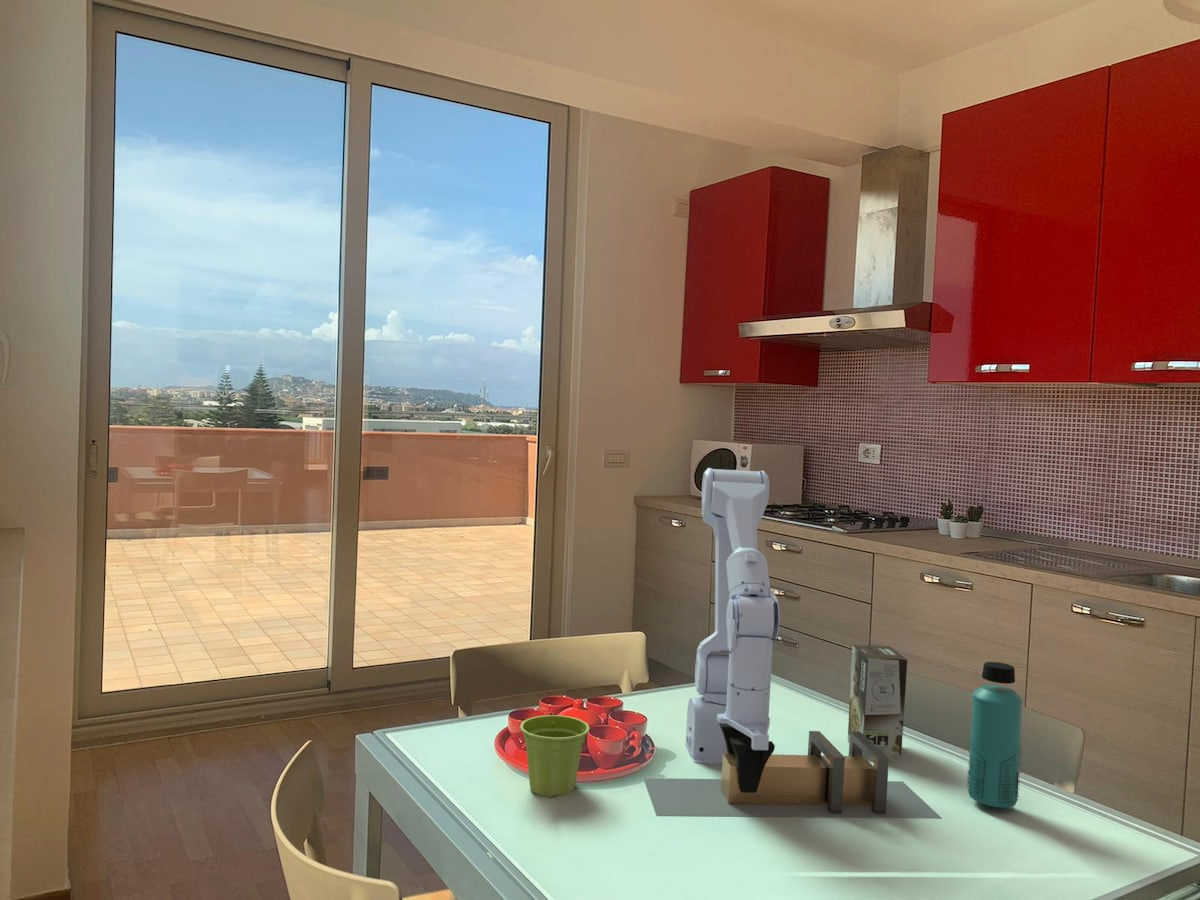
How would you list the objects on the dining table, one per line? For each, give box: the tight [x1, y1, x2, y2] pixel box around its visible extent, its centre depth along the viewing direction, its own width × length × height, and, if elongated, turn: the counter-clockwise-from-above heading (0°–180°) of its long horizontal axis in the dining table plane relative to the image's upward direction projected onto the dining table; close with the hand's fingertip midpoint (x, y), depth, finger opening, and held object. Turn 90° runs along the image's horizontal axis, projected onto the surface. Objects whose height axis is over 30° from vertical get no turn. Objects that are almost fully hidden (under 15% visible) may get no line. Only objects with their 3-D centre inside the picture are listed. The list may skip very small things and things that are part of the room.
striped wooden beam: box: [720, 753, 874, 806], centre depth 121 cm, size 20×5×5 cm, turn 95°
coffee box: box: [847, 644, 909, 761], centre depth 142 cm, size 9×6×16 cm
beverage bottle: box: [966, 661, 1023, 808], centre depth 122 cm, size 6×7×20 cm
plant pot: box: [519, 714, 590, 798], centre depth 121 cm, size 9×9×9 cm
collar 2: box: [848, 732, 890, 814], centre depth 122 cm, size 2×10×8 cm, turn 5°
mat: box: [643, 777, 943, 819], centre depth 121 cm, size 38×12×1 cm, turn 95°
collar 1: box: [807, 730, 845, 814], centre depth 122 cm, size 2×10×8 cm, turn 5°
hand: (743, 783), depth 121 cm, fingers closed on striped wooden beam, 4 cm apart
